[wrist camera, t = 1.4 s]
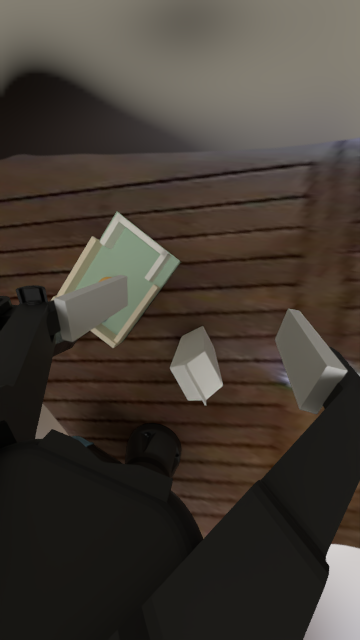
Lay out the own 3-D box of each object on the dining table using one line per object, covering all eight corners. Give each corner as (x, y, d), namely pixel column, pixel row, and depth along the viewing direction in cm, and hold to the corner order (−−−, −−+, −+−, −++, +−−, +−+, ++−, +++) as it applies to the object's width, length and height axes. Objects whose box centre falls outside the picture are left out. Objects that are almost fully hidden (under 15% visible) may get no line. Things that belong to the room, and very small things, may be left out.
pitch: (122, 341, 48) (113, 348, 43) (67, 299, 47) (51, 300, 42) (180, 262, 43) (178, 258, 38) (119, 214, 43) (108, 203, 37)
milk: (202, 325, 45) (206, 357, 23) (214, 346, 45) (227, 397, 24) (181, 336, 46) (165, 377, 24) (192, 357, 46) (186, 415, 25)
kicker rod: (89, 345, 47) (33, 374, 31) (70, 331, 47) (4, 352, 31) (108, 317, 45) (59, 332, 29) (89, 302, 45) (29, 309, 29)
